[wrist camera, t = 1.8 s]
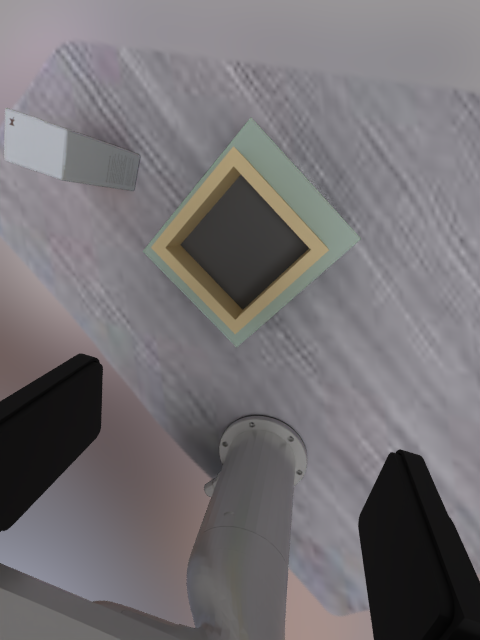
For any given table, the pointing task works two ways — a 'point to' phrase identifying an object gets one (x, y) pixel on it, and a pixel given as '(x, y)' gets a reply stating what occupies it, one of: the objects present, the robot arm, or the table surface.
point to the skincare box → (67, 153)
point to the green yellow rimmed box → (249, 236)
